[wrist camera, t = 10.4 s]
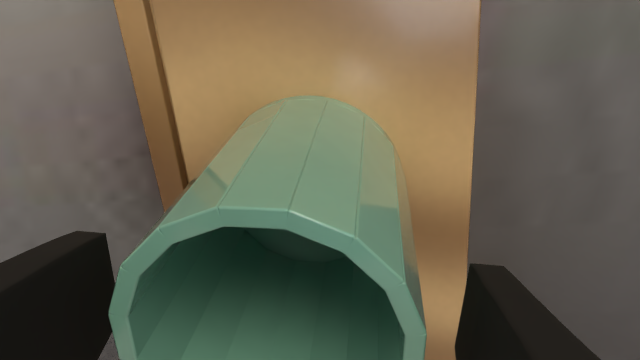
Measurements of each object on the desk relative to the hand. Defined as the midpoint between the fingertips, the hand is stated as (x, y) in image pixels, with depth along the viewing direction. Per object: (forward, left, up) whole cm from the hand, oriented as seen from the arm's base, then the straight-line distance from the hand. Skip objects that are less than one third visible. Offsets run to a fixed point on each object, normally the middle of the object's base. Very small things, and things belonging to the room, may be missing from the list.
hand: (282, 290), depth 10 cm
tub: (0, 0, -5) cm, 5 cm away
